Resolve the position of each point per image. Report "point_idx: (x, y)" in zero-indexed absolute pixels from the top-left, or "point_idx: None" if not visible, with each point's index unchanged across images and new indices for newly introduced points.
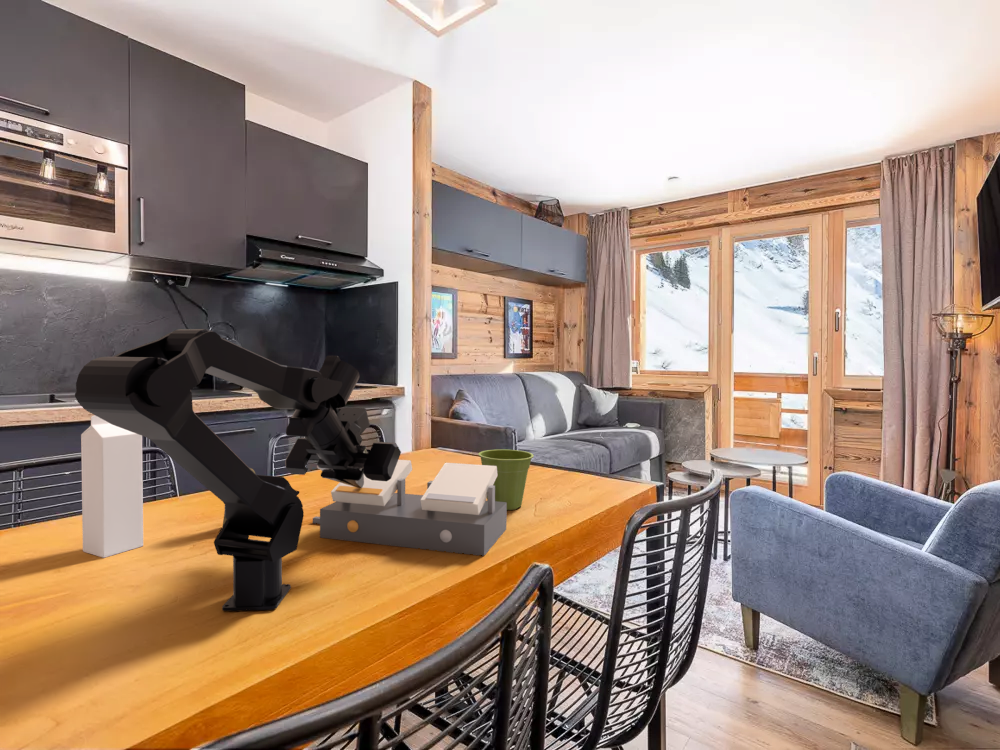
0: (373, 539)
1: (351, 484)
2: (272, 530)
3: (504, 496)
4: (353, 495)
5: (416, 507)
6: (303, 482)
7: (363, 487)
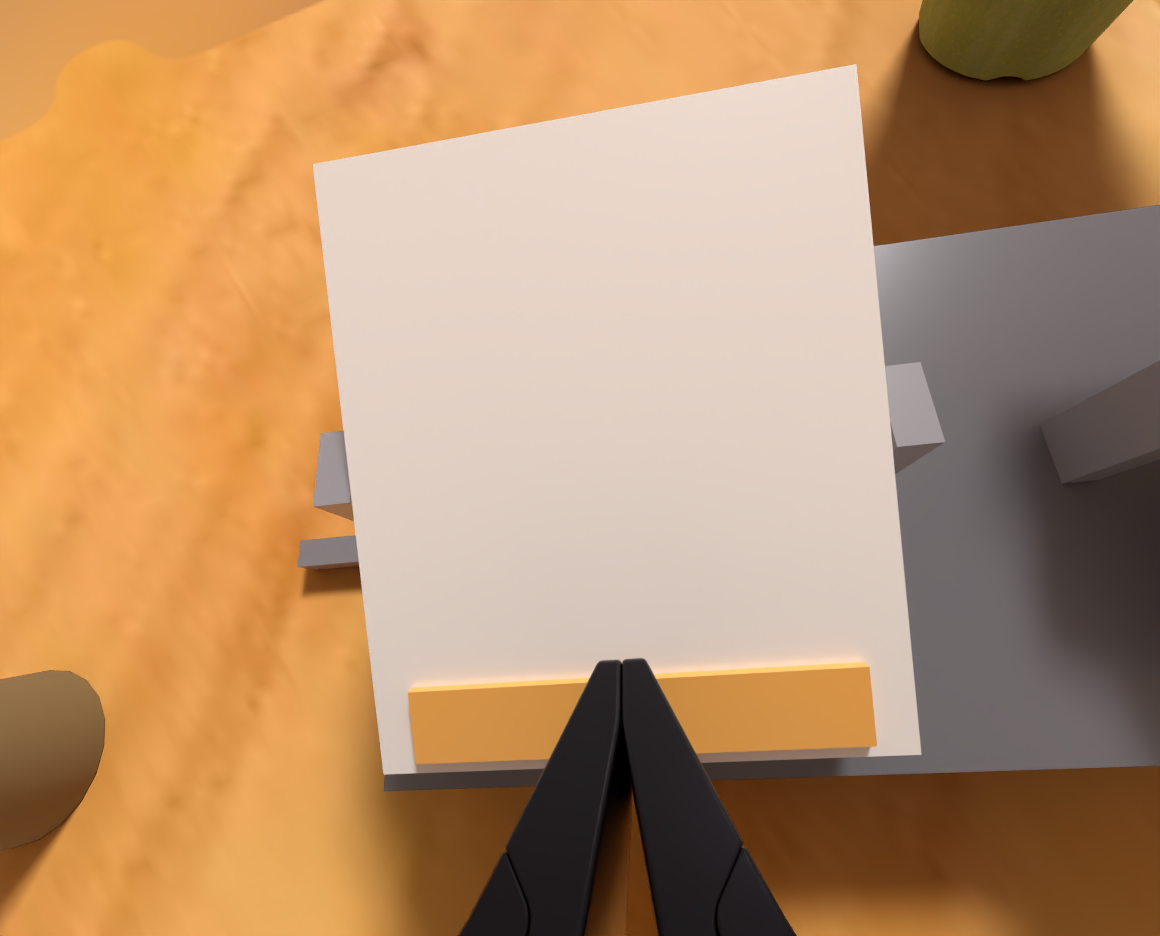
0: None
1: (627, 897)
2: None
3: (1111, 3)
4: None
5: (983, 502)
6: (31, 146)
7: (639, 655)
